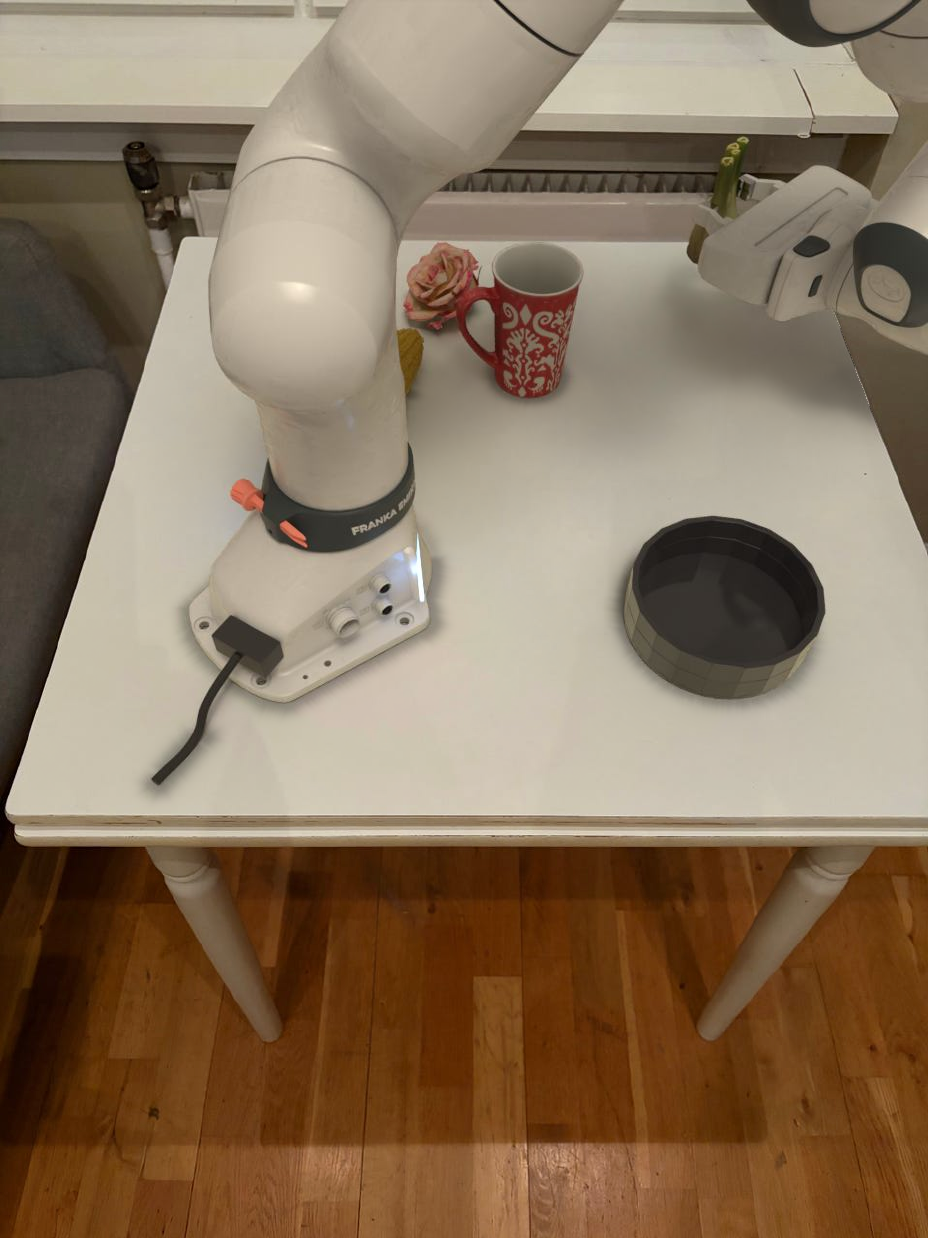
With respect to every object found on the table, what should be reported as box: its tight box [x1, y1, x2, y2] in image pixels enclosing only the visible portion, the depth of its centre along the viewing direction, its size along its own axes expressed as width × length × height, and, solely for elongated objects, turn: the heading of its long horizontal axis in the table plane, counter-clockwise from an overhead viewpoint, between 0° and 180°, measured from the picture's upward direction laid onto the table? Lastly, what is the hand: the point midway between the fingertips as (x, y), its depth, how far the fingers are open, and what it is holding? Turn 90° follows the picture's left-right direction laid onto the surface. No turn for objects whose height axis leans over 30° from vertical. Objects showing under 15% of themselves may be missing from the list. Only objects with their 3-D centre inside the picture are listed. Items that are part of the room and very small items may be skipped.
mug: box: [455, 241, 584, 399], centre depth 98 cm, size 13×9×14 cm
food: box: [397, 327, 425, 400], centre depth 97 cm, size 21×6×6 cm, turn 165°
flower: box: [402, 241, 482, 330], centre depth 107 cm, size 10×9×8 cm
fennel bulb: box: [686, 136, 750, 266], centre depth 94 cm, size 6×5×12 cm
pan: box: [623, 515, 827, 700], centre depth 83 cm, size 16×16×5 cm
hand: (717, 196), depth 94 cm, fingers closed on fennel bulb, 5 cm apart
